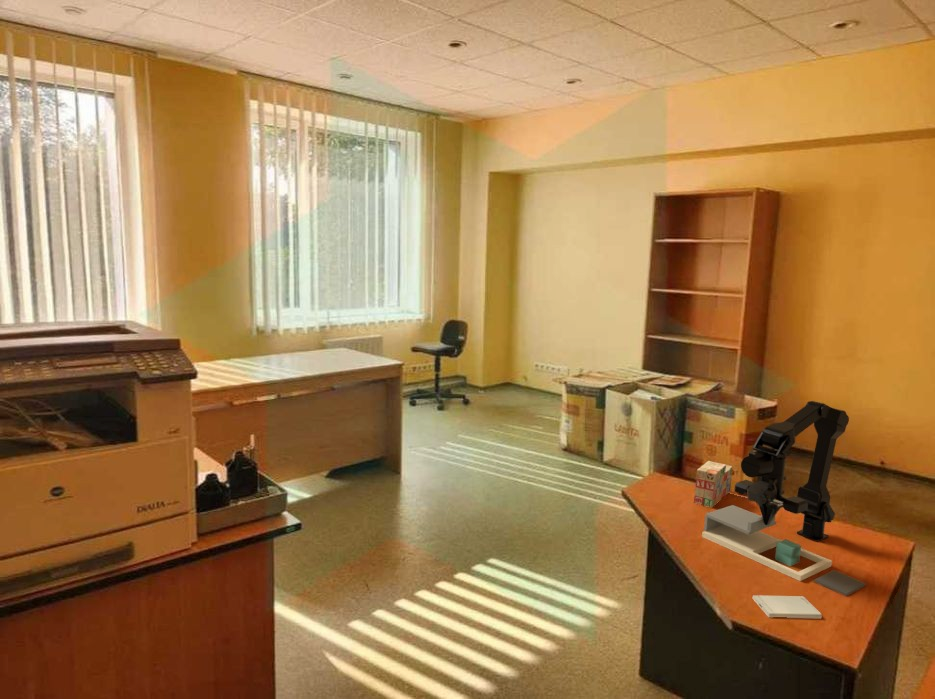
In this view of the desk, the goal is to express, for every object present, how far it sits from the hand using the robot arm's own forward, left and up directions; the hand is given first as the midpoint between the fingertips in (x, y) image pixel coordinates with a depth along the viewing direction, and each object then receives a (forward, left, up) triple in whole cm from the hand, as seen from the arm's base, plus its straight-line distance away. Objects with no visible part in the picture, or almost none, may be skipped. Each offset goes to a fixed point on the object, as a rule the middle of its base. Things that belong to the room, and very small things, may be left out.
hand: (766, 524), depth 179 cm
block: (0, +7, -8) cm, 10 cm away
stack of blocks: (-23, -33, -8) cm, 41 cm away
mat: (0, +21, -8) cm, 22 cm away
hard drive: (+24, +20, -9) cm, 32 cm away
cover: (0, -8, -6) cm, 10 cm away
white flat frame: (0, 0, -8) cm, 8 cm away
